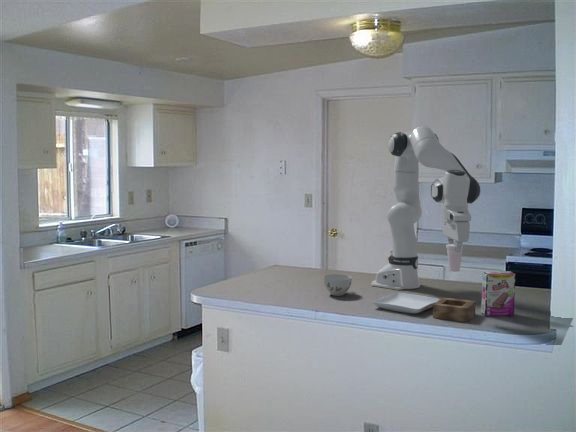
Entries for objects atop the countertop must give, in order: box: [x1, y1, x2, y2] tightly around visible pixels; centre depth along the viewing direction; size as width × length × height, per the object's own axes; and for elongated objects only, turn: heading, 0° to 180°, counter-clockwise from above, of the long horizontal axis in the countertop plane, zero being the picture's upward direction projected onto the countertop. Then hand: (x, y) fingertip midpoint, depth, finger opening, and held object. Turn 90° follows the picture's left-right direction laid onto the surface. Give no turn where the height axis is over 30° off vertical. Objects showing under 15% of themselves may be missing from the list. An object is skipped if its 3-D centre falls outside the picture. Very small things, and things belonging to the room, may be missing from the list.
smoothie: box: [445, 240, 464, 272], centre depth 227 cm, size 6×6×14 cm
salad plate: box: [371, 292, 441, 315], centre depth 243 cm, size 21×21×3 cm
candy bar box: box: [480, 270, 516, 317], centre depth 229 cm, size 11×5×16 cm, turn 92°
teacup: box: [323, 273, 353, 297], centre depth 266 cm, size 15×12×8 cm
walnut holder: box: [432, 297, 476, 323], centre depth 229 cm, size 13×13×5 cm
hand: (454, 250), depth 227 cm, fingers closed on smoothie, 6 cm apart
